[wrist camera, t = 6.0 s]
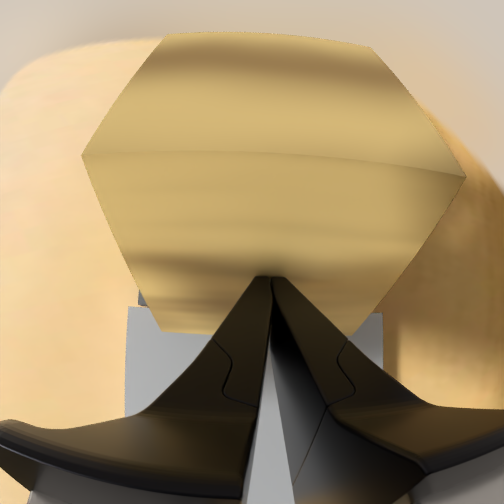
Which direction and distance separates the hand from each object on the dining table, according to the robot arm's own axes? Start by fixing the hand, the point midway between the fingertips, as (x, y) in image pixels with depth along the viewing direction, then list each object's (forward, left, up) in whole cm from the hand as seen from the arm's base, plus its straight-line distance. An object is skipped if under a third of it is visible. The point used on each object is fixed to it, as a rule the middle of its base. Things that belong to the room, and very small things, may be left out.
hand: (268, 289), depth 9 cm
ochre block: (+2, -2, -5) cm, 6 cm away
